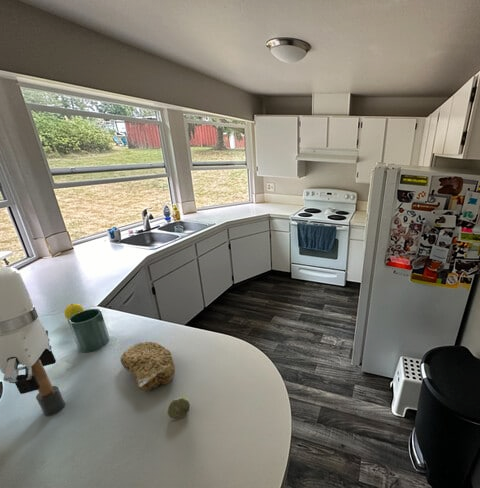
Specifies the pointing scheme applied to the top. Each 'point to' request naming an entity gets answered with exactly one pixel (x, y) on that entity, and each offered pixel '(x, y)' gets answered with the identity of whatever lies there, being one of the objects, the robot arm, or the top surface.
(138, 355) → the beige grainy bag
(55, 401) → the brush
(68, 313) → the lemon
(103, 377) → the top surface
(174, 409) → the lime
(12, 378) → the robot arm
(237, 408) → the top surface
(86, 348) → the teal ceramic mug
